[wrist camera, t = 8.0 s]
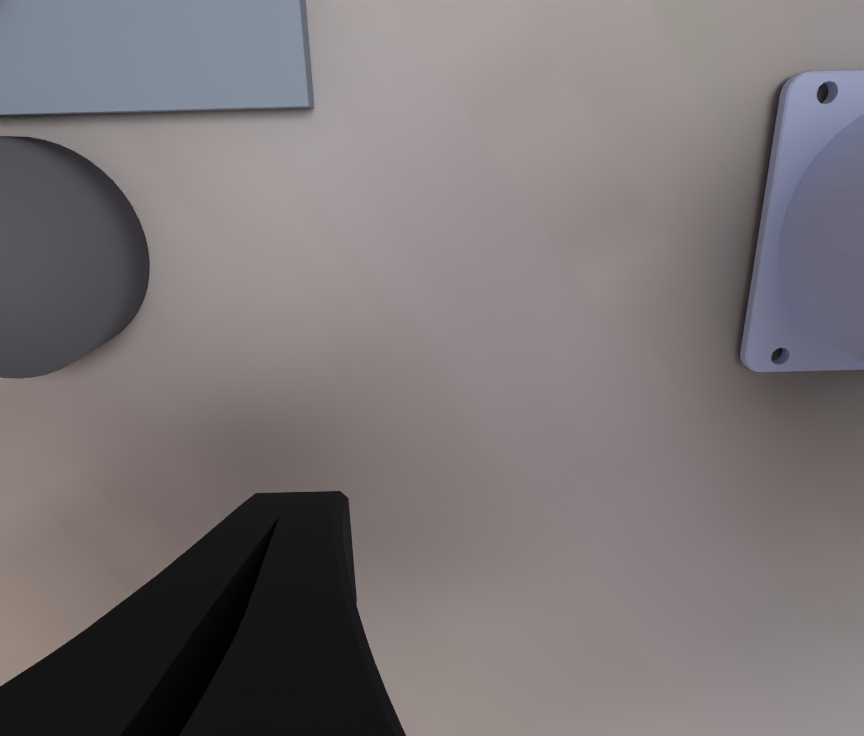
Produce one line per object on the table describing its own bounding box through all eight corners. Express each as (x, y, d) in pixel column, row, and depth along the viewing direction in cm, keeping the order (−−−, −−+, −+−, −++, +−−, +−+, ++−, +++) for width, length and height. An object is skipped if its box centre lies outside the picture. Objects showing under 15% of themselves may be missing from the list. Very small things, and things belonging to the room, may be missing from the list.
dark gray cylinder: (126, 133, 16) (83, 132, 14) (165, 349, 18) (132, 375, 16) (-100, 139, 16) (-177, 139, 14) (-36, 354, 18) (-94, 381, 16)
